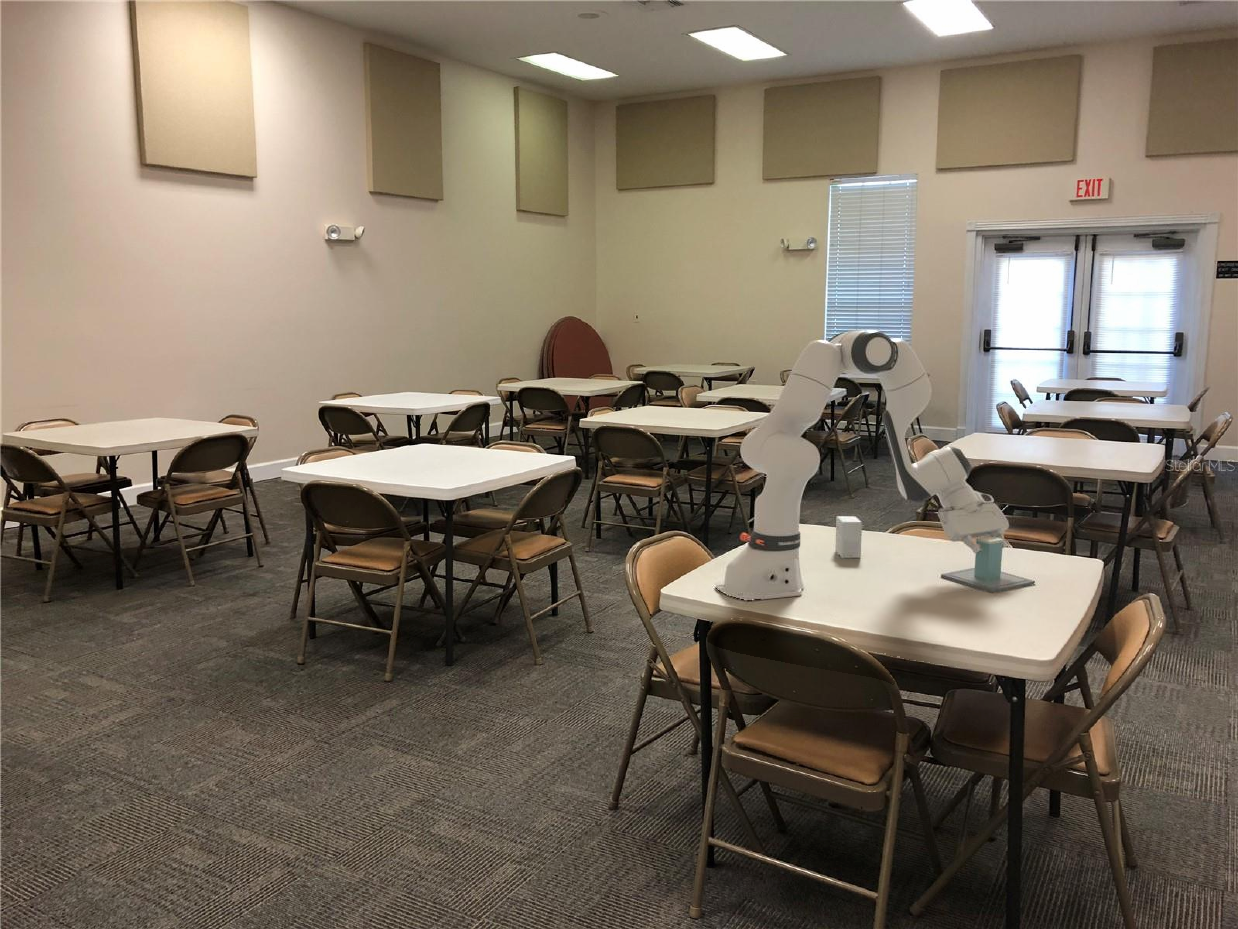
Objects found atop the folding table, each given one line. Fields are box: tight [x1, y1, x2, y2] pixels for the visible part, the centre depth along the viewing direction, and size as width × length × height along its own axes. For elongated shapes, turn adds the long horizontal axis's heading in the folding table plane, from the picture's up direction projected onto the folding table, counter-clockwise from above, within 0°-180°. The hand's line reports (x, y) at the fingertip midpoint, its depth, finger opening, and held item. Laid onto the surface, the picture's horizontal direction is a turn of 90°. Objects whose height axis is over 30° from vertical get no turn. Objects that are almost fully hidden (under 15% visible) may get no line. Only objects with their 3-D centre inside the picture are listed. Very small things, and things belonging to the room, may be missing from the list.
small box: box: [834, 515, 863, 559], centre depth 256 cm, size 8×6×10 cm
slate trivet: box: [940, 567, 1036, 594], centre depth 231 cm, size 16×16×1 cm
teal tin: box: [974, 535, 1005, 581], centre depth 230 cm, size 5×4×10 cm
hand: (991, 549), depth 229 cm, fingers open, 8 cm apart
